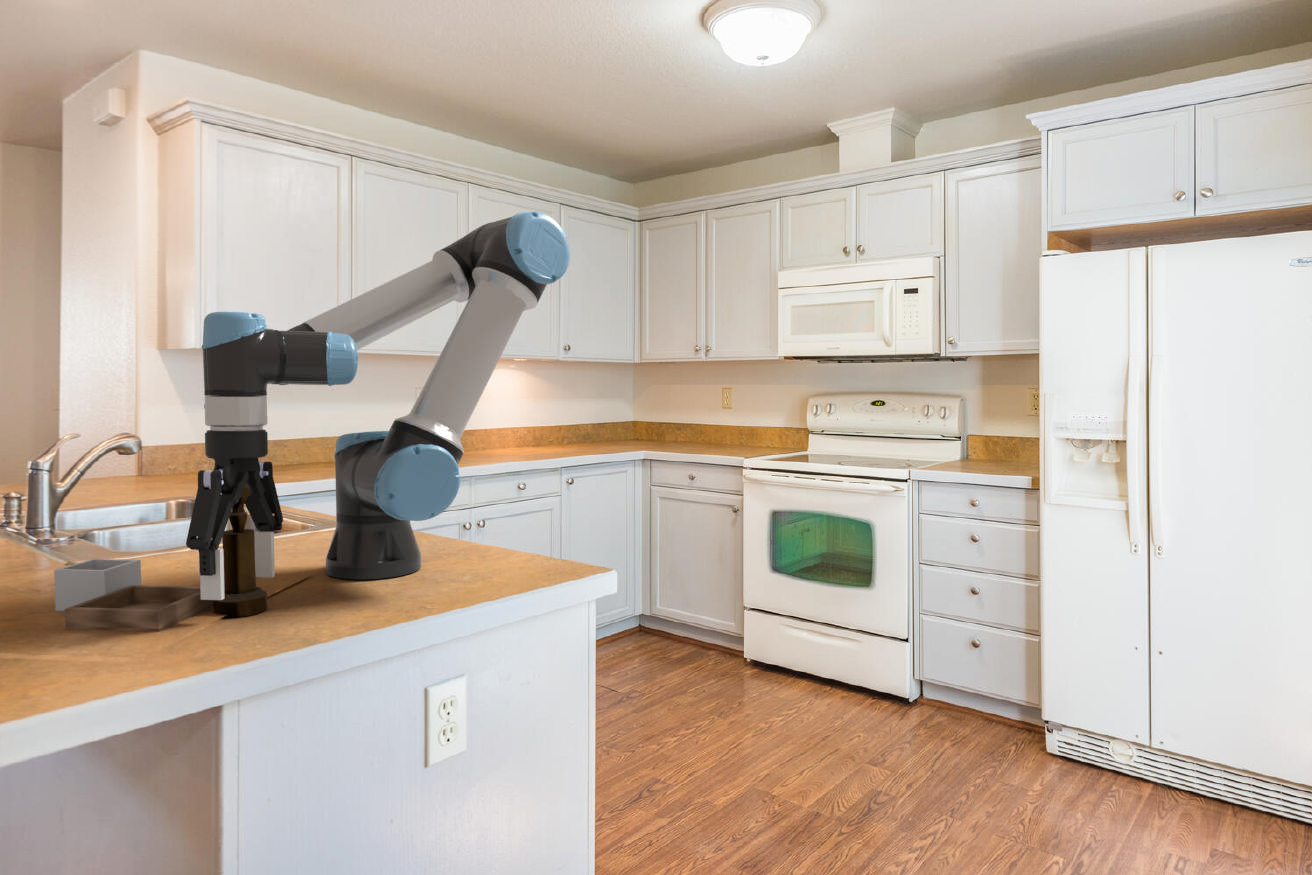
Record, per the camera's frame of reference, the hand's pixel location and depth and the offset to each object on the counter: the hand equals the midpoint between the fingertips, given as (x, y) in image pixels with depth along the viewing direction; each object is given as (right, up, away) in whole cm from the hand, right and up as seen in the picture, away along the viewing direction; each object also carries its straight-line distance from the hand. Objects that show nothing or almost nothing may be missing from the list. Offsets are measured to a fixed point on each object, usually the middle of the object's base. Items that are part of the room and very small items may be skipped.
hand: (239, 587), depth 111 cm
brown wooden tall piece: (0, -4, 0) cm, 4 cm away
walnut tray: (-10, -3, -4) cm, 12 cm away
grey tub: (-20, -3, +1) cm, 20 cm away
